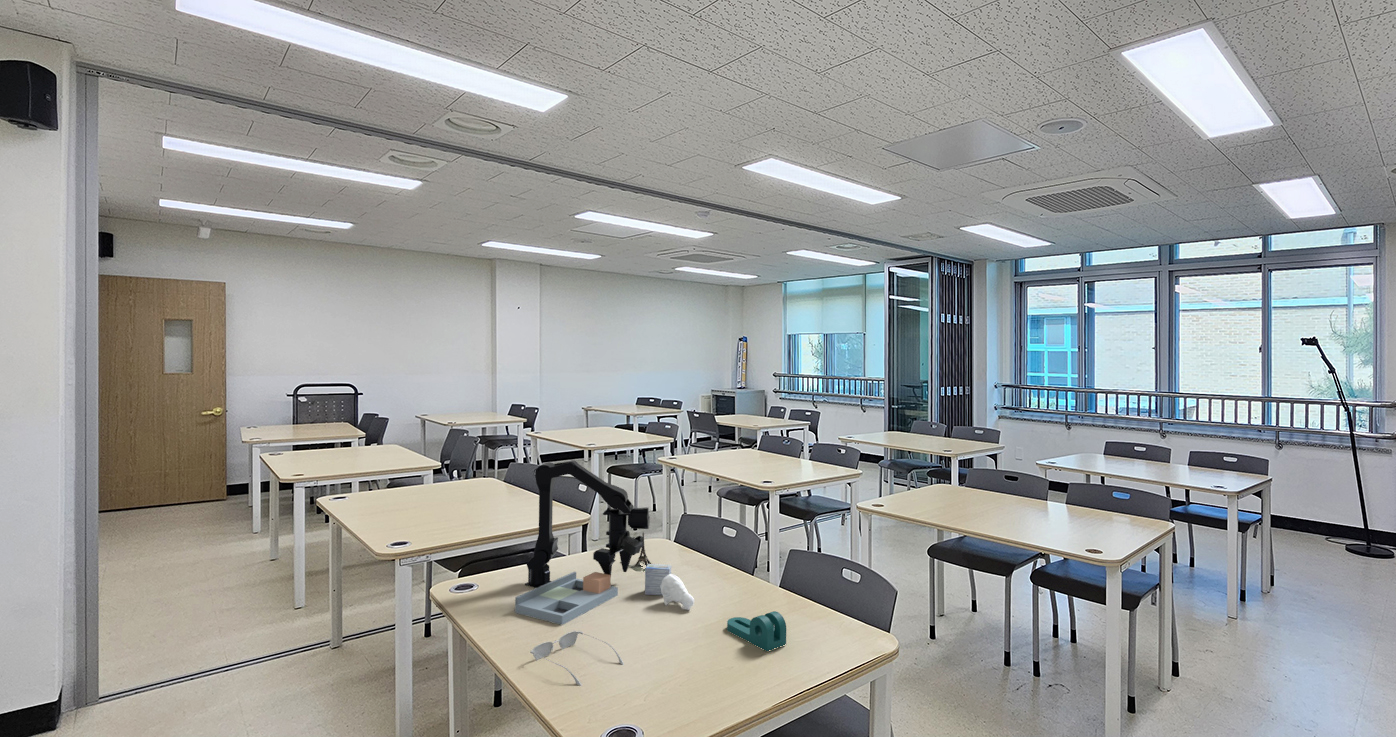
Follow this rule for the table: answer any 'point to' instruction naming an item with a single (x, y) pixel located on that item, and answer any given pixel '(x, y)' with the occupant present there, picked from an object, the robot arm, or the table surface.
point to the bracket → (760, 630)
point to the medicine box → (655, 578)
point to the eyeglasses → (564, 642)
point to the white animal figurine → (676, 591)
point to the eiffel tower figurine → (641, 559)
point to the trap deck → (561, 600)
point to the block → (596, 582)
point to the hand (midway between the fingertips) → (616, 575)
